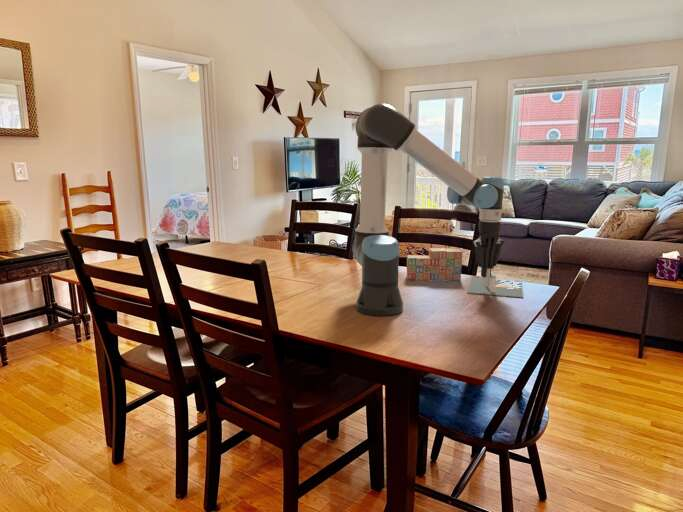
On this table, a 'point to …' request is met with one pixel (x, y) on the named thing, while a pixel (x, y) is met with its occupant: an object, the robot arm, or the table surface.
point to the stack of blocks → (435, 265)
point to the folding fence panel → (492, 282)
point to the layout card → (478, 288)
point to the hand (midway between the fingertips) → (485, 285)
